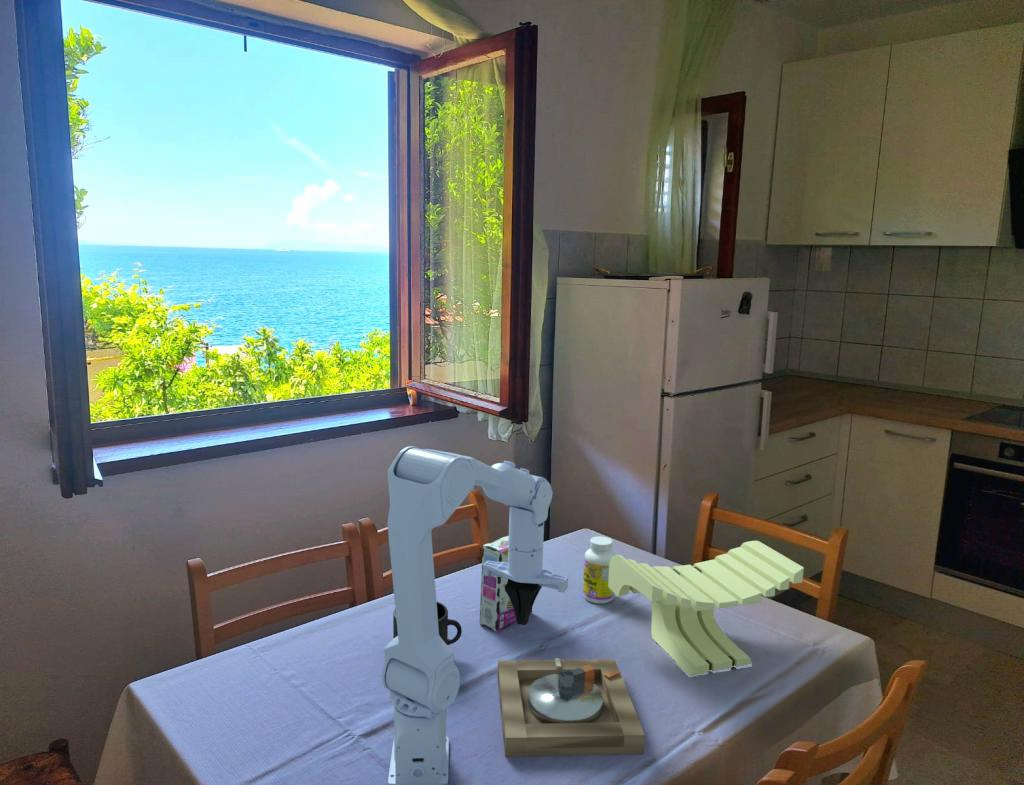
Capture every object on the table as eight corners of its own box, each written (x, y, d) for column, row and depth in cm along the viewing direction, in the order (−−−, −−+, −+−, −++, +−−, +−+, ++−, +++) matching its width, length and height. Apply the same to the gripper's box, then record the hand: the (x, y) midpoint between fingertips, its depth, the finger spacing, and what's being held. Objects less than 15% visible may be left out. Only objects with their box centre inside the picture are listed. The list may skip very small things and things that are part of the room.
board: (643, 753, 102) (645, 731, 102) (505, 757, 101) (505, 734, 100) (613, 675, 122) (614, 656, 121) (497, 676, 120) (498, 657, 120)
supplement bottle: (576, 593, 152) (579, 536, 150) (603, 588, 155) (606, 532, 153) (593, 607, 146) (596, 548, 144) (620, 601, 149) (623, 543, 147)
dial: (555, 736, 103) (556, 705, 102) (514, 694, 113) (515, 665, 112) (617, 713, 109) (619, 683, 108) (573, 675, 119) (575, 647, 118)
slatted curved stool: (740, 618, 143) (748, 534, 140) (793, 660, 128) (803, 567, 125) (605, 637, 134) (610, 548, 131) (645, 684, 119) (652, 585, 116)
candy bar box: (498, 634, 134) (500, 552, 131) (478, 625, 137) (480, 544, 135) (534, 613, 143) (537, 535, 140) (515, 605, 146) (517, 529, 143)
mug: (465, 670, 122) (466, 621, 120) (395, 676, 119) (395, 627, 118) (457, 641, 131) (458, 596, 129) (391, 647, 128) (391, 601, 127)
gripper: (575, 545, 117) (571, 621, 120) (496, 529, 123) (493, 603, 125) (561, 560, 111) (557, 640, 113) (477, 543, 117) (476, 620, 119)
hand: (522, 622), depth 119 cm, fingers closed
